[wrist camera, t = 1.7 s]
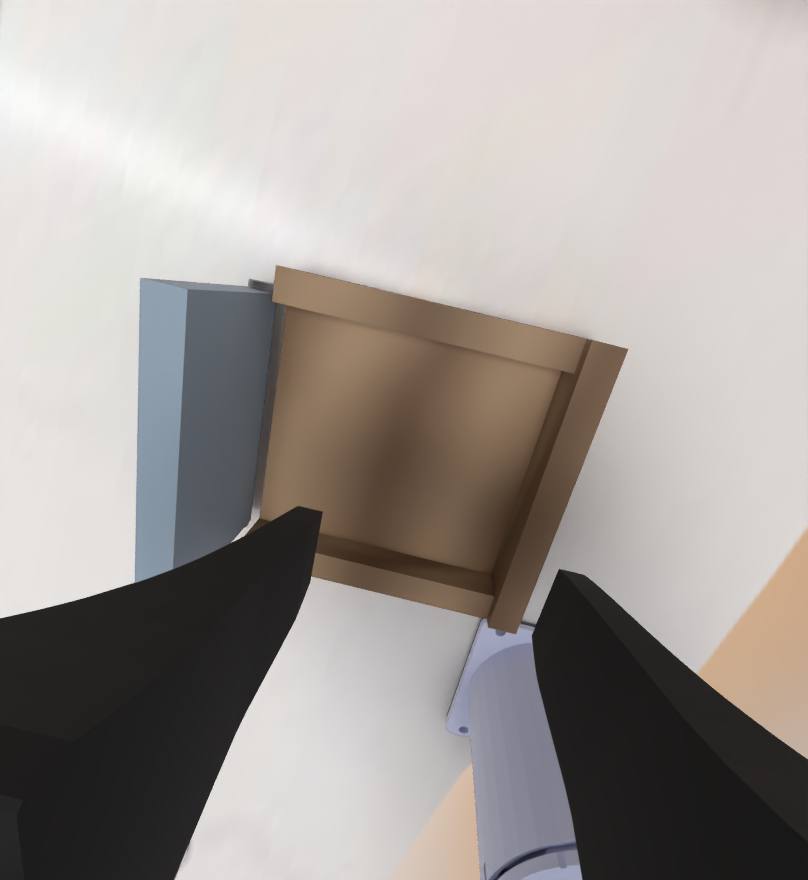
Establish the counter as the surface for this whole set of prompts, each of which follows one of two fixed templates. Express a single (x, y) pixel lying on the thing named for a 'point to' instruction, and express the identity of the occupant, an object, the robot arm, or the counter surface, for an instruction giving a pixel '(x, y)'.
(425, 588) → the wooden tray
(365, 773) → the counter surface
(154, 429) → the tailgate
